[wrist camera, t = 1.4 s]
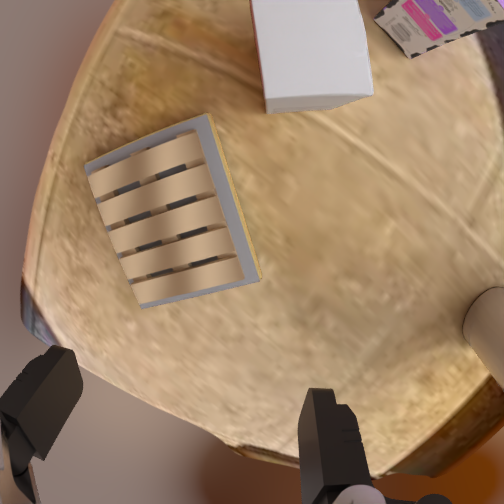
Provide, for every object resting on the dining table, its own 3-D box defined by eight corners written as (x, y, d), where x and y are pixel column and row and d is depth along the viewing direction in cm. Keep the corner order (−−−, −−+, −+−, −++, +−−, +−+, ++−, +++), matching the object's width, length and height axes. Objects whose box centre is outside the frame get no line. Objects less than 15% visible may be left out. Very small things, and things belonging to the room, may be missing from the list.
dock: (213, 113, 28) (207, 111, 25) (262, 268, 33) (261, 280, 30) (97, 160, 29) (83, 163, 27) (150, 295, 35) (141, 309, 32)
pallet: (198, 128, 25) (194, 128, 24) (246, 274, 30) (245, 282, 28) (94, 171, 27) (86, 173, 25) (145, 299, 31) (140, 306, 30)
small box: (254, 38, 25) (245, -23, 13) (320, 33, 24) (353, -26, 12) (264, 116, 28) (263, 100, 15) (331, 111, 27) (377, 95, 15)
